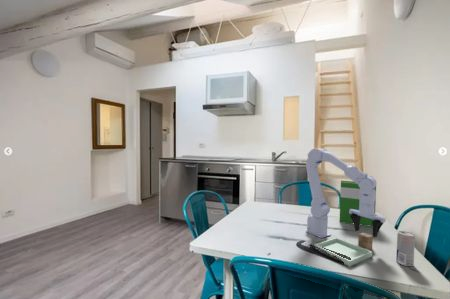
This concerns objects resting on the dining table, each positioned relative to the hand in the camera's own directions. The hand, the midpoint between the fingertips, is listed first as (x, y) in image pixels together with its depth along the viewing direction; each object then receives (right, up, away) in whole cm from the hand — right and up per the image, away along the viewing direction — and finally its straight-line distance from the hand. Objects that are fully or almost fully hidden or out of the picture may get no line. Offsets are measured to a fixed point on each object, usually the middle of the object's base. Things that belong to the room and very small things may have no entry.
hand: (365, 233), depth 102 cm
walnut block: (0, -7, 0) cm, 7 cm away
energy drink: (+7, -7, -13) cm, 16 cm away
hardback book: (+15, -6, +34) cm, 37 cm away
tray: (-13, -6, -5) cm, 16 cm away
